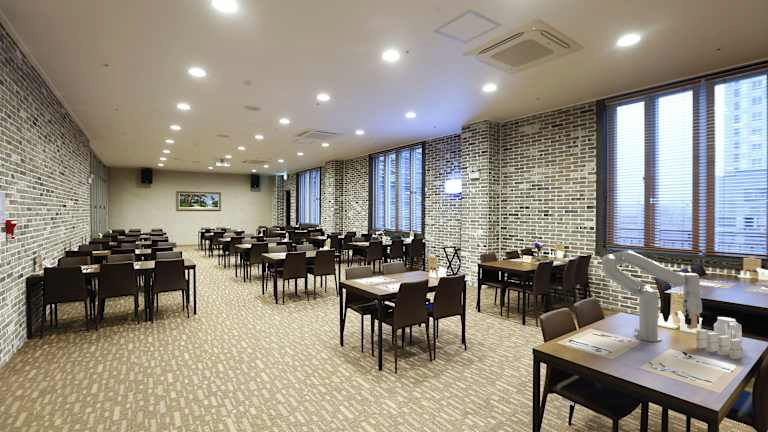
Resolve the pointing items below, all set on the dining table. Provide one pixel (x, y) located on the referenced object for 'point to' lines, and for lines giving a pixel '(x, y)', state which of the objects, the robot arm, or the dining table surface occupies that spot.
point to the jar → (722, 325)
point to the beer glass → (733, 331)
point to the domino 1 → (693, 321)
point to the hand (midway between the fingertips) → (692, 323)
